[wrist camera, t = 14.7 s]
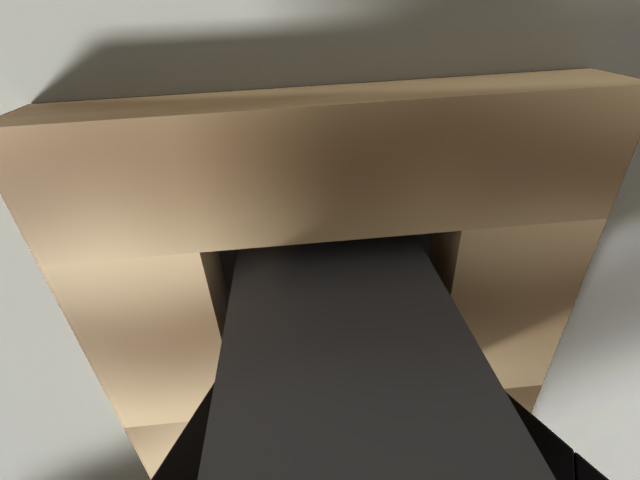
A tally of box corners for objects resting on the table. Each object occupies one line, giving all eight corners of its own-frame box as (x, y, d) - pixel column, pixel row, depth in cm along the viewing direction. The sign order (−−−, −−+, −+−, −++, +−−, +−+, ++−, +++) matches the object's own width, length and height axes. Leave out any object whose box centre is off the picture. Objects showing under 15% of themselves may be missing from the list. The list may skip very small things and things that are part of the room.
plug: (400, 348, 13) (503, 647, 7) (260, 361, 13) (242, 682, 7) (411, 228, 10) (583, 527, 4) (239, 242, 10) (179, 578, 4)
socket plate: (458, 511, 21) (474, 556, 19) (214, 540, 20) (208, 589, 19) (590, 67, 9) (661, 83, 8) (28, 104, 9) (-34, 129, 7)
